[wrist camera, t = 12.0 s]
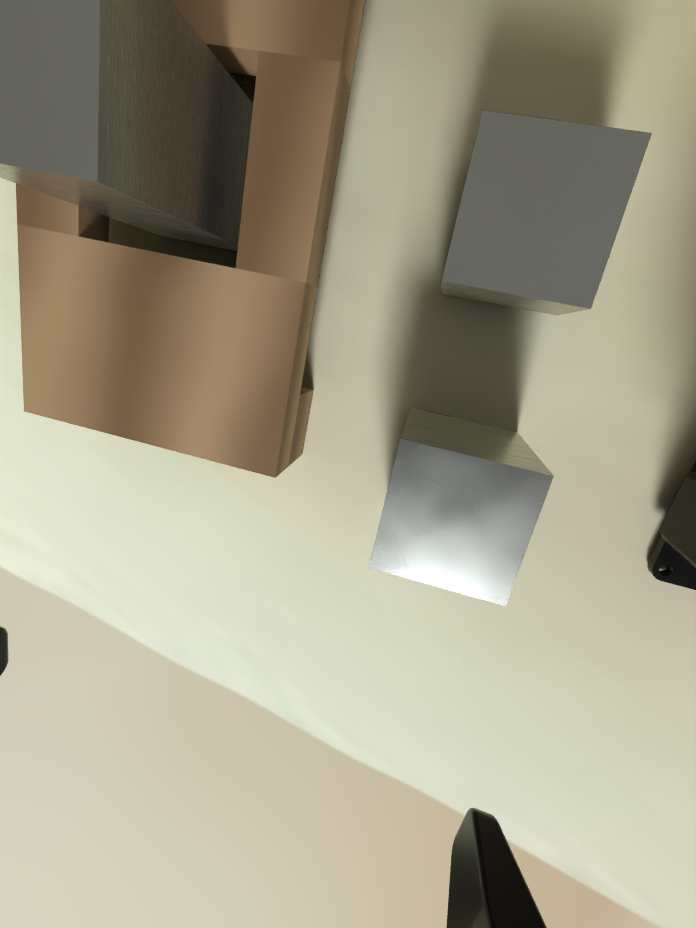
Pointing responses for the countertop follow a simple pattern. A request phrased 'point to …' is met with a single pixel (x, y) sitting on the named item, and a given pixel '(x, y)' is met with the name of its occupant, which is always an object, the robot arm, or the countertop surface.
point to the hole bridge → (203, 266)
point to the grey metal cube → (540, 211)
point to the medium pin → (460, 506)
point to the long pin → (123, 115)
